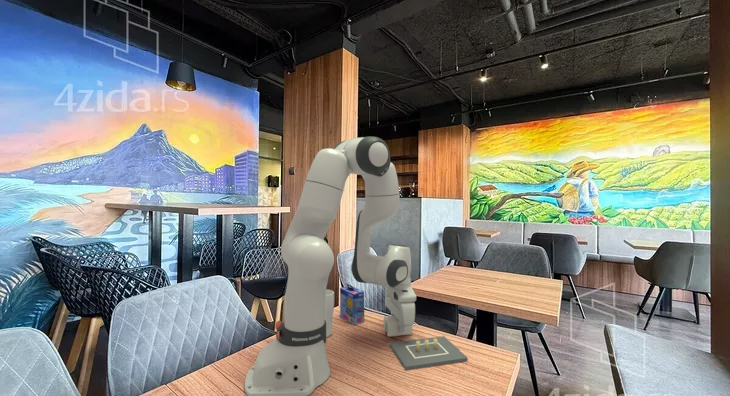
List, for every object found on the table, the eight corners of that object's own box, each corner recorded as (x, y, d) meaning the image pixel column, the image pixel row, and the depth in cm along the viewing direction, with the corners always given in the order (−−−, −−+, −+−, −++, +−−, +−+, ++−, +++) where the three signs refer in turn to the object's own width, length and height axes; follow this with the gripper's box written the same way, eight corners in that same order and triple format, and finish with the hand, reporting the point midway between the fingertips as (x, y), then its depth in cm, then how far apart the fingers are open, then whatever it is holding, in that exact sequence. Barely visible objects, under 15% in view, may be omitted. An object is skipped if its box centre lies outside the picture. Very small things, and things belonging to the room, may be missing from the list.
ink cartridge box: (339, 317, 119) (339, 281, 119) (349, 314, 123) (350, 279, 123) (353, 325, 112) (354, 288, 112) (364, 322, 115) (365, 285, 115)
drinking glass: (330, 339, 101) (330, 296, 101) (312, 337, 102) (312, 294, 102) (336, 331, 107) (336, 290, 107) (318, 329, 109) (319, 288, 109)
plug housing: (388, 336, 102) (388, 322, 102) (383, 330, 107) (384, 316, 107) (412, 333, 104) (412, 319, 104) (406, 327, 109) (407, 314, 109)
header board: (405, 370, 84) (405, 356, 84) (389, 345, 97) (389, 333, 97) (467, 361, 88) (467, 347, 88) (444, 339, 102) (444, 327, 102)
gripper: (381, 281, 115) (380, 316, 115) (400, 299, 95) (400, 342, 95) (396, 280, 116) (395, 315, 116) (418, 297, 96) (418, 339, 96)
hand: (397, 327), depth 105 cm, fingers closed on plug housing, 5 cm apart
